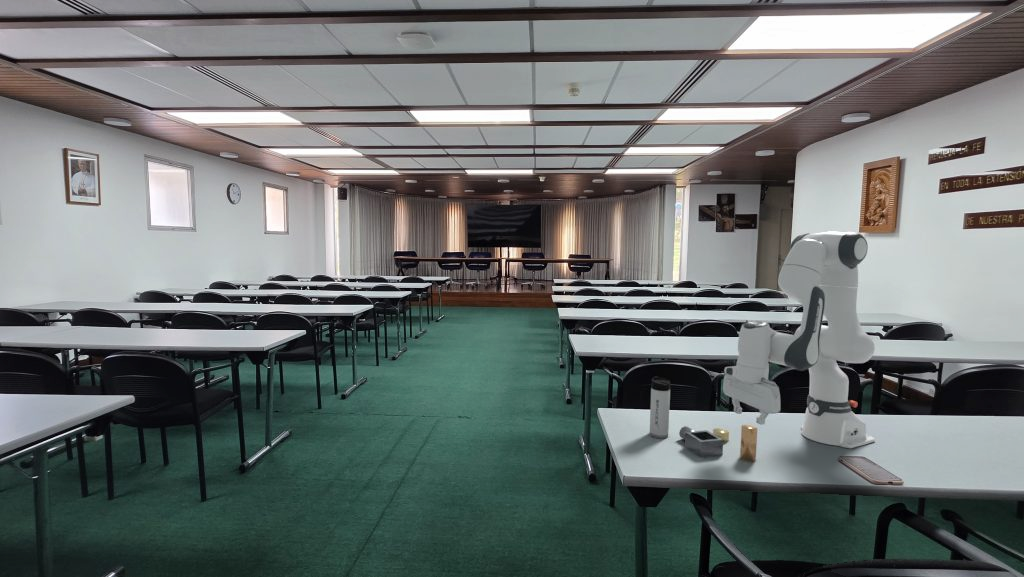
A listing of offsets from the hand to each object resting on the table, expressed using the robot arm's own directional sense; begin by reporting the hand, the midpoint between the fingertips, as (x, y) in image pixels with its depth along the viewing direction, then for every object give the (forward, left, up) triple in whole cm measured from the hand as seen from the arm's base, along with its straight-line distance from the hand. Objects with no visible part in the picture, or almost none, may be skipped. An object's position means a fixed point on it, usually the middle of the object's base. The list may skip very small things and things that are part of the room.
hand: (748, 418), depth 144 cm
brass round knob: (-3, -15, -13) cm, 20 cm away
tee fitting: (+9, -11, -13) cm, 19 cm away
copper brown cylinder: (-1, 0, -13) cm, 13 cm away
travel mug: (+16, -23, -13) cm, 31 cm away
